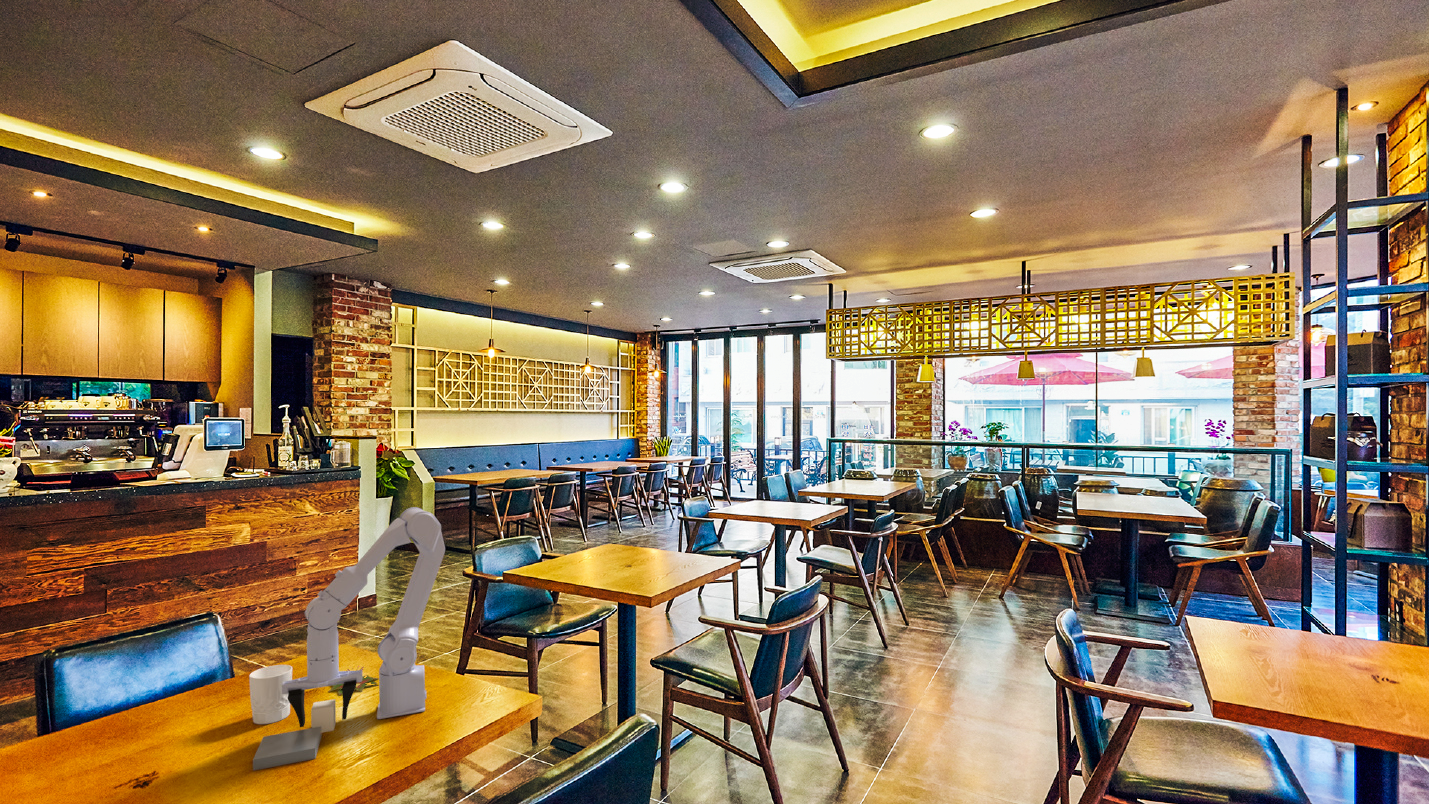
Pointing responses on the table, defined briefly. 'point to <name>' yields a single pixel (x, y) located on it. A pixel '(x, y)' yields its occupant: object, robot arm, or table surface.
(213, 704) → the table surface
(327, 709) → the cream block
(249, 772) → the table surface
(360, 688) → the lily flower
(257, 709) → the white cup
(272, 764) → the slate tile
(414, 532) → the robot arm
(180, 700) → the table surface
